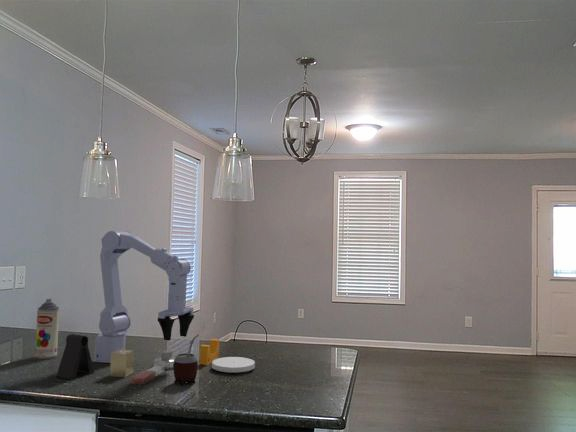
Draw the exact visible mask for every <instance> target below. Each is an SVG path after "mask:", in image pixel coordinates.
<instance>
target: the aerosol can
mask: <svg viewBox="0 0 576 432" xmlns="http://www.w3.org/2000/svg"><path fill="white" fill-rule="evenodd" d="M52 300H53V299H52V298H46V300H45V302H43V303H42V304H41V306H40V307H38V308H37V314H36V315H37V316H36V331H35V333H36V334H35V354H34V355H35V356H34V359H36V360H51V359H52V360H53V359H55V358H57V357H58V339H59V338H58V336H59V320H60V307H59V306H57V304H55V303H54V301H52Z"/></svg>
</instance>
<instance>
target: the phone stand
mask: <svg viewBox="0 0 576 432" xmlns="http://www.w3.org/2000/svg"><path fill="white" fill-rule="evenodd" d="M88 344H89V337H88V336H87V335H81V334H73V333H71V334H68V335H67V336H66V339H65V348H64V350H63V353H62V357H61V360H60V364H59V366H58V369H57V372H56V375H55V377H56V378H59V379H65V380H70V381H73V380H76V379H80V378H82V377H85V376H90V375H92V374H94V373H95V369H94V366H93V360H92V357H91V353H90V349H89V345H88Z"/></svg>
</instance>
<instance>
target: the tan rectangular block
mask: <svg viewBox="0 0 576 432" xmlns="http://www.w3.org/2000/svg"><path fill="white" fill-rule="evenodd" d="M134 359H135V350H132V349H125V350H120V349H119V350H117V351H114V352H112V353H111V363H110V366H109V367H110V368H109V369H110V371H109V376H110V377H113V378H114V377H115V378H127V377H129V376H131V375H132V373H133V374H134V365H135V364H134V362H135V360H134ZM130 374H131V375H130Z"/></svg>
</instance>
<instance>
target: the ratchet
mask: <svg viewBox="0 0 576 432" xmlns="http://www.w3.org/2000/svg"><path fill="white" fill-rule="evenodd" d="M175 358H176V356H175V357H174V356H173V350H163V351H162V352H161V357H157V358H154V361H153V366H152V367H151V368H148V369H146V370H142V371H140V372H139V373H136V374H135V375H133V376H131V378H130V385H136V384H144V385H146V384H147V383H149V382H150V381H152V380H153V379H152V378H154V377H155V376H156V377H157V376H159V375H161V374H162V373H163V371H164V370H165V369H168V370H172V369H171V368H173V364H174V359H175ZM165 371H166V370H165ZM165 371H164V372H165ZM161 372H162V373H161ZM158 374H159V375H158ZM156 377H155V378H156ZM155 378H154V379H155ZM151 379H152V380H151ZM149 380H150V381H149ZM148 381H149V382H148ZM146 382H147V383H146ZM145 383H146V384H145Z"/></svg>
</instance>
